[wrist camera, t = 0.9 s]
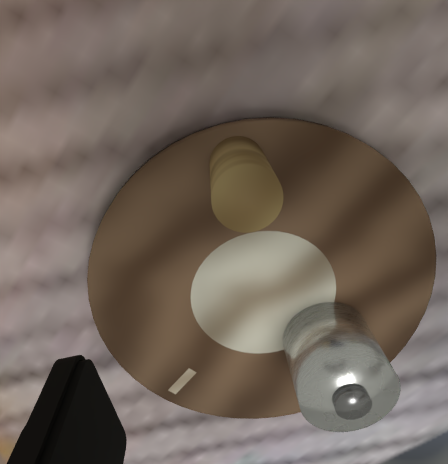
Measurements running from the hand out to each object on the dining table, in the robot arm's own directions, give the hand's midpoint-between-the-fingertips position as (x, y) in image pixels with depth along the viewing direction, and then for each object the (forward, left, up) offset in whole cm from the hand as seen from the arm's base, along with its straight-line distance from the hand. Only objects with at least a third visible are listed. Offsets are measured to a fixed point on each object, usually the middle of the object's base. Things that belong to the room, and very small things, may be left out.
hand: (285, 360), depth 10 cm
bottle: (-15, +7, -18) cm, 24 cm away
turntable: (-8, +7, -20) cm, 22 cm away
